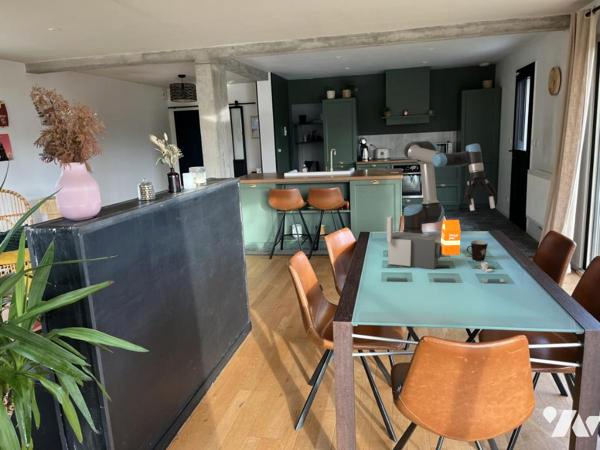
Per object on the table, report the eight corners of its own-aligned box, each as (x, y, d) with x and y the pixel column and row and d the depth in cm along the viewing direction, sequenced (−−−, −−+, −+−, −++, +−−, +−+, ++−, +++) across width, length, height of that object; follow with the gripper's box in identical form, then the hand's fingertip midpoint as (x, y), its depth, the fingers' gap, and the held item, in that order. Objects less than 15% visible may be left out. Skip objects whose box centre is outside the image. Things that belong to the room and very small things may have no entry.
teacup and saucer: (494, 273, 229) (495, 266, 229) (478, 273, 231) (478, 265, 230) (491, 268, 238) (491, 261, 237) (475, 268, 239) (475, 260, 239)
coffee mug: (484, 257, 256) (485, 240, 254) (488, 262, 248) (489, 244, 245) (462, 257, 257) (463, 240, 255) (466, 262, 249) (467, 244, 247)
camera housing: (394, 259, 258) (394, 229, 255) (442, 263, 247) (443, 233, 243) (388, 264, 248) (389, 234, 244) (438, 270, 236) (439, 238, 233)
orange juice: (459, 254, 263) (461, 221, 259) (444, 255, 263) (445, 221, 259) (455, 251, 270) (456, 218, 266) (440, 251, 271) (441, 218, 267)
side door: (388, 263, 247) (389, 216, 242) (410, 265, 242) (411, 217, 237) (386, 265, 244) (387, 217, 238) (409, 267, 239) (410, 219, 233)
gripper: (462, 172, 246) (468, 210, 245) (499, 168, 253) (505, 206, 252) (453, 174, 253) (459, 212, 252) (490, 171, 260) (496, 207, 259)
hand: (482, 209), depth 252 cm, fingers open, 13 cm apart
